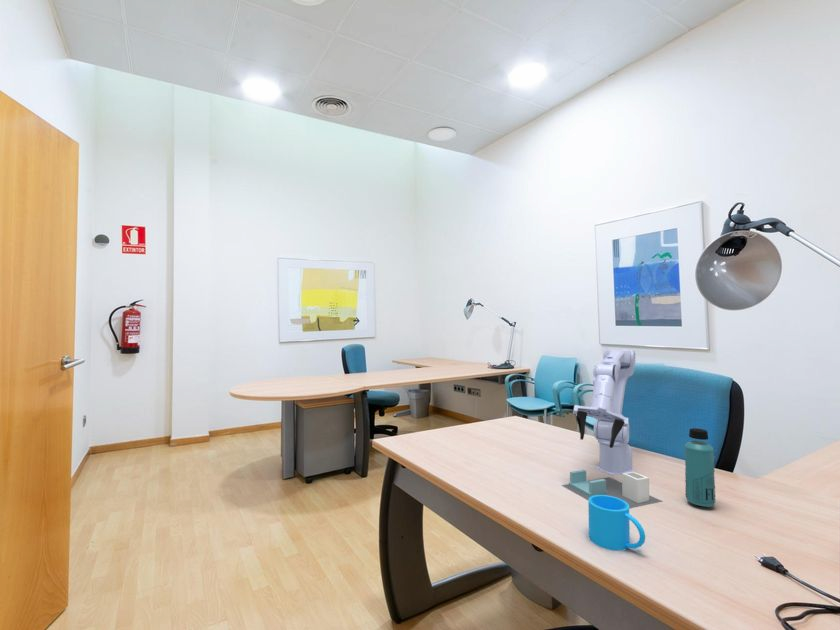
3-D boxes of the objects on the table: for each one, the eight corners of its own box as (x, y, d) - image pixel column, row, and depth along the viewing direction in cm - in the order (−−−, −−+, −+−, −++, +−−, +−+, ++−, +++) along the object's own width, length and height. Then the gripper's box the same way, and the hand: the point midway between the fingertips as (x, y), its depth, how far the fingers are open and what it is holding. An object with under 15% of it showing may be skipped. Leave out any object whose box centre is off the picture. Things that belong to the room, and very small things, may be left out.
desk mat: (609, 478, 124) (609, 477, 124) (662, 503, 107) (662, 501, 107) (561, 487, 117) (561, 485, 118) (609, 514, 101) (609, 512, 101)
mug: (581, 537, 90) (580, 500, 90) (602, 527, 94) (602, 492, 95) (634, 564, 80) (633, 522, 80) (655, 551, 84) (655, 512, 84)
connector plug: (633, 493, 112) (633, 471, 112) (649, 500, 107) (648, 477, 107) (622, 495, 110) (622, 473, 111) (638, 503, 106) (637, 479, 106)
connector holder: (585, 482, 120) (585, 469, 120) (607, 493, 112) (607, 479, 112) (568, 485, 117) (568, 472, 118) (590, 497, 109) (590, 482, 110)
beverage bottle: (707, 515, 100) (705, 434, 100) (679, 504, 106) (678, 428, 106) (721, 509, 103) (719, 430, 103) (693, 499, 109) (692, 425, 109)
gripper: (578, 387, 119) (570, 429, 112) (632, 399, 114) (628, 444, 107) (575, 398, 125) (568, 438, 117) (626, 410, 120) (622, 454, 112)
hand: (596, 442), depth 113 cm, fingers open, 7 cm apart
